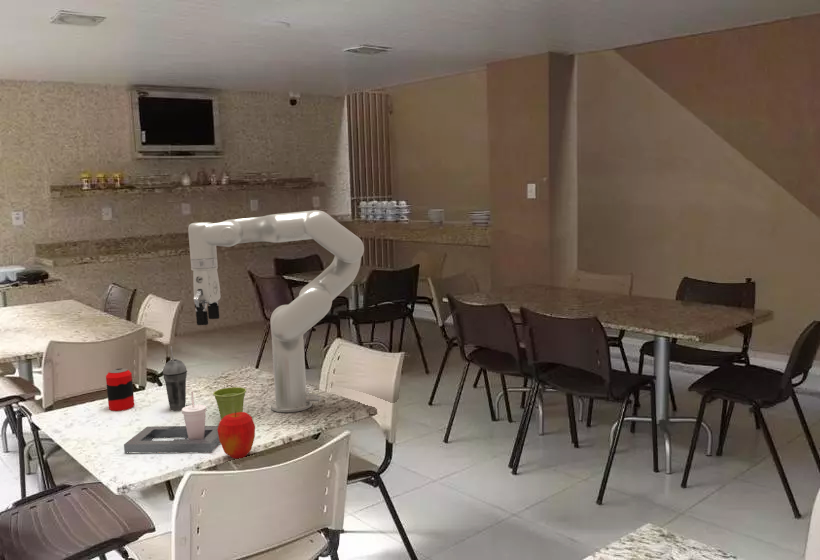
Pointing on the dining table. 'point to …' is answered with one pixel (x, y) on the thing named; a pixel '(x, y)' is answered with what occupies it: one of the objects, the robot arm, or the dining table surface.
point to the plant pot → (230, 400)
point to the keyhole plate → (145, 444)
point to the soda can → (120, 389)
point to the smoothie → (195, 419)
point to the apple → (236, 434)
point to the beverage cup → (175, 383)
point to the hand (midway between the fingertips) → (208, 321)
